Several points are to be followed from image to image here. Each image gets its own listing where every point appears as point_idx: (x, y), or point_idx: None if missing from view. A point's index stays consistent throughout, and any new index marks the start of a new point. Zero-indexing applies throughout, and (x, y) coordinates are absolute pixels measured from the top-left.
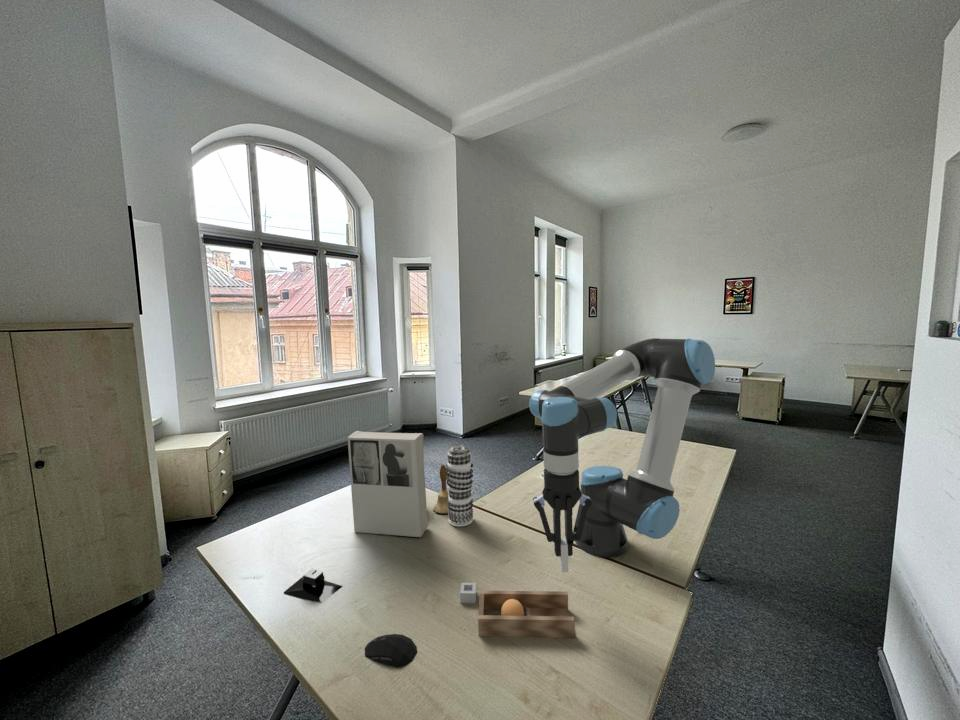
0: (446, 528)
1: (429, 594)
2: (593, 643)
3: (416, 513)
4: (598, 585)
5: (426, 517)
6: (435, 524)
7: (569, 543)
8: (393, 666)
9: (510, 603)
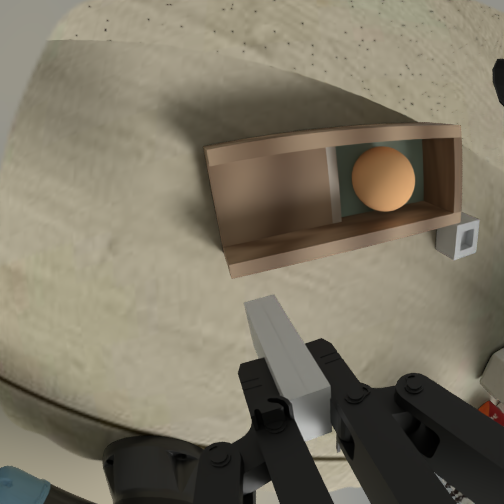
0: (454, 392)
1: (496, 227)
2: (150, 149)
3: None
4: (144, 356)
5: (492, 388)
6: (466, 392)
7: (281, 407)
8: None
9: (406, 178)
